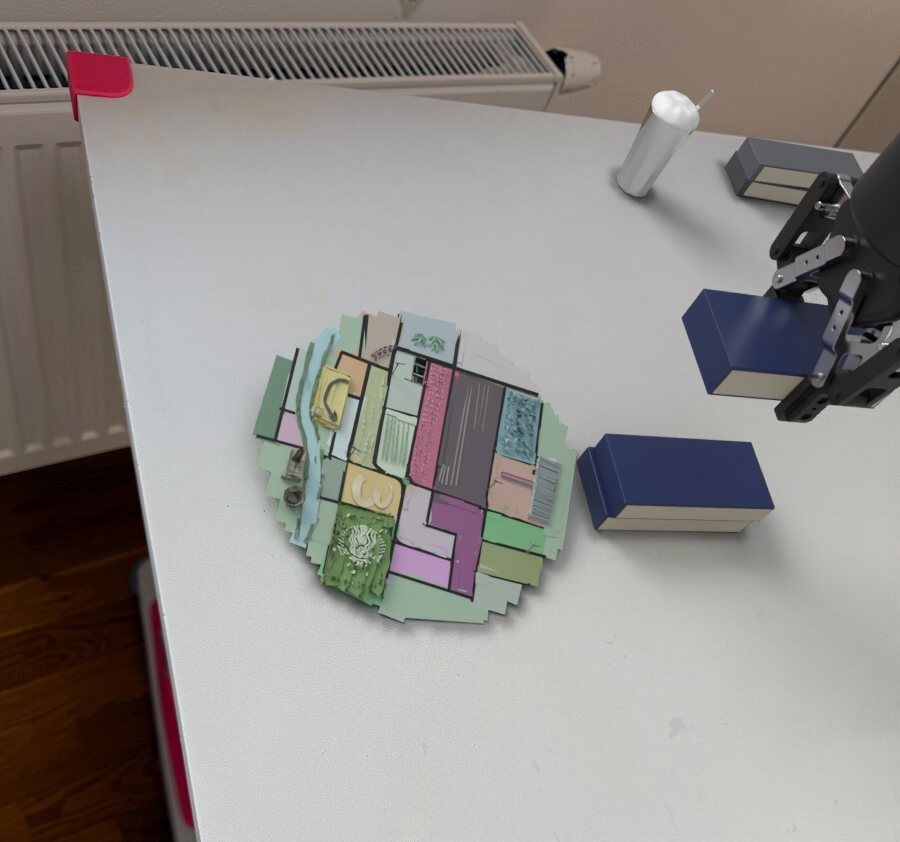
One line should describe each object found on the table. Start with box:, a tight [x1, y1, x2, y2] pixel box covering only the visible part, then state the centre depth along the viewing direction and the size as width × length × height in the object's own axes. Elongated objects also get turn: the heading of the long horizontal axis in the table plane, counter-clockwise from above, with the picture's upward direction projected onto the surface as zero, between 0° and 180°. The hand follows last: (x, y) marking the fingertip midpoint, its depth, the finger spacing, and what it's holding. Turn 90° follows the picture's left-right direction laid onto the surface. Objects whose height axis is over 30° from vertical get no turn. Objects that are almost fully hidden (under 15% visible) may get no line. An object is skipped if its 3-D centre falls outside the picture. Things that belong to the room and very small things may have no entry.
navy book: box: [681, 288, 893, 410], centre depth 61 cm, size 13×6×3 cm, turn 100°
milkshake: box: [616, 89, 715, 198], centre depth 88 cm, size 4×5×10 cm
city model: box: [242, 310, 578, 624], centre depth 66 cm, size 25×24×6 cm
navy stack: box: [576, 433, 776, 533], centre depth 73 cm, size 13×6×4 cm, turn 101°
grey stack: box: [724, 136, 864, 207], centre depth 98 cm, size 14×4×4 cm, turn 101°
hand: (770, 374), depth 63 cm, fingers closed on navy book, 6 cm apart
